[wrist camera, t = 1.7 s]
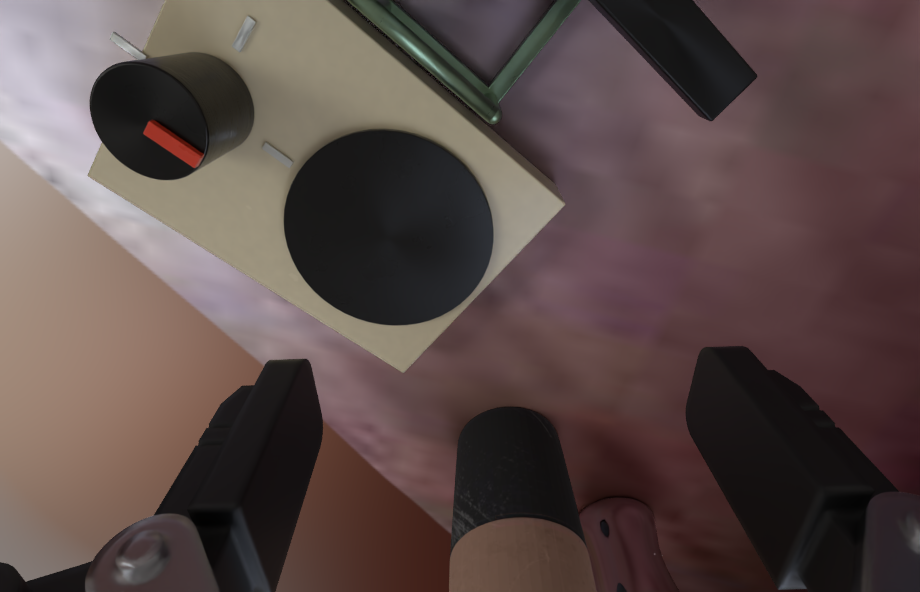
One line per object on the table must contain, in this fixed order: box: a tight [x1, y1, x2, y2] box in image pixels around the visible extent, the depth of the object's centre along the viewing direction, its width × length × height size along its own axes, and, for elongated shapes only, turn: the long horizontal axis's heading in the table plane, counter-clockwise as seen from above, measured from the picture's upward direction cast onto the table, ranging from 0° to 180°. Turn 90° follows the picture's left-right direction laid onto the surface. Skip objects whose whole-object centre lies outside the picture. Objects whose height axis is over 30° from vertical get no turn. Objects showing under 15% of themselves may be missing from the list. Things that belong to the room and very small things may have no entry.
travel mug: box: [449, 407, 597, 592], centre depth 27 cm, size 8×8×20 cm
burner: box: [284, 129, 494, 326], centre depth 24 cm, size 10×10×1 cm
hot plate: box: [88, 0, 565, 373], centre depth 24 cm, size 19×13×3 cm
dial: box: [90, 52, 254, 180], centre depth 19 cm, size 4×4×5 cm
